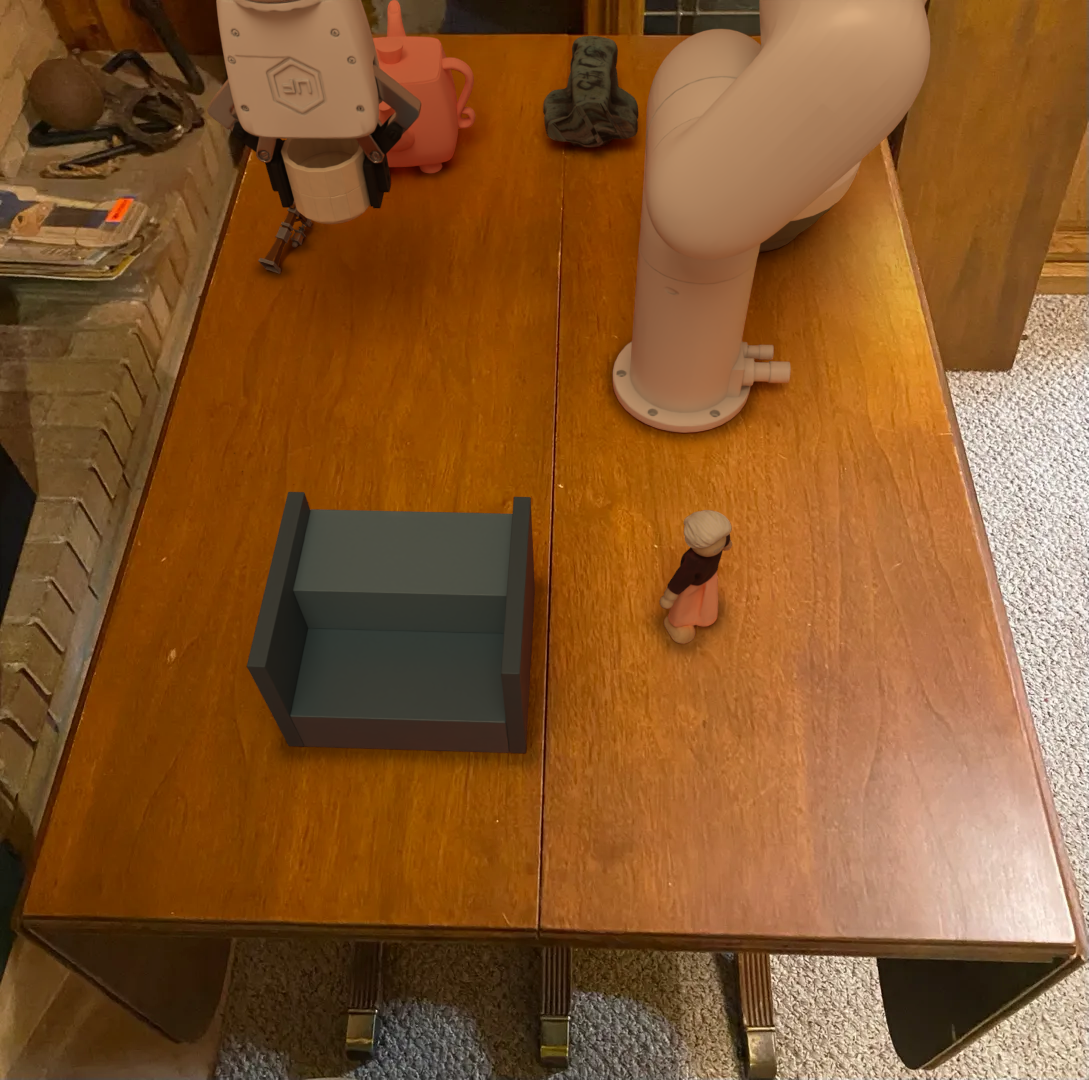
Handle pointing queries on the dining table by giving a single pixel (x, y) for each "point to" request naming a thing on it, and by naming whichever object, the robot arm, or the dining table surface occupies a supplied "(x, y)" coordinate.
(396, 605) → the step shelf
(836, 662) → the dining table surface
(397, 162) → the teapot
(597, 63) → the sculpture
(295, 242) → the wooden post with brackets
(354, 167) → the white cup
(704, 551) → the grandmother figurine
